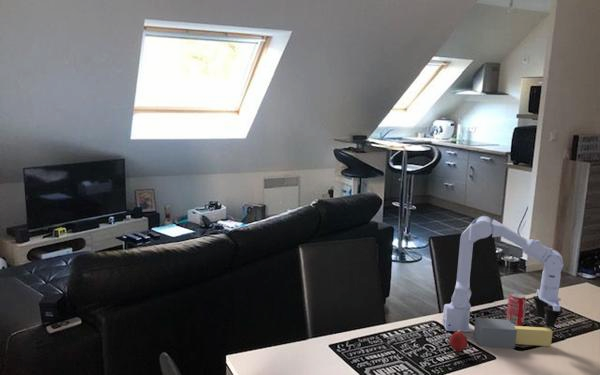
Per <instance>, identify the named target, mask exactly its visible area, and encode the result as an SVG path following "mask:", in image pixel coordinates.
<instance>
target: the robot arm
mask: <svg viewBox="0 0 600 375" xmlns="http://www.w3.org/2000/svg"><path fill="white" fill-rule="evenodd" d="M491 235H492V236H491ZM490 236H491V237H492V238H497V237H499V238H500V237H502V238H503V239H505V240H507V241H510V242H511V243H513V244H515V245H516V246H518V247H521V250H522V252H523V253H524V254H525V255H527V256H528V257H530V258H532V259H534V260H535V261H536V262H539V263H541V264H543V270H542V271H541V272H542V274H541V281H540V287H539V288H537V290H536V295H533V296H532V298H533V301H534V304H535V308H536V316H537V317H538V318H544V317H545V326H546V328H554V326H555V325H556V324H555V323H556V322H557V320H558V319H559V317H560V316H561V315H562V314H563V310H562V308H561V307H562V306H561V305H560V301H562V298H561V297H559V291H560V284H561V276H562V275H561V273H562V269H563V267H564V266H565V265H564V261H563V256H562V255H561V253H560V252H559V251H558V250H556V249H553V248H551V247H547V246H545V245H544V244H542V243H541V241H540V240H539V239H534V238H532V239H531V238H530V239H526V238H525V237H523V236H522V235H520V234H518V233H517V232H515V231H514V230H512V229H511V228H510V227H508V226H506V225H505V224H503V223H502V222H499V221H498V220H496V219H494V218H493V219H492V218H491V217H489V216H487V215H481V216H479V217H476V218H475V219H473V221H472V222H471V223H470V224H469V225H468V226H467V227H466V229H464V231H463V232H462V233H461V235H460V237H459V238H460V239H459V250H458V261H457V269H456V270H457V272H456V283H455V286H454V291H453V293H452V295H451V302H450V303H445V304H444V305H443V311H442V320H441V322H442V325H443V326H444V329H445V330H446V331H447V332H457V331H459V330H461V331H462V333H463V332H464V333H472V332H473V331H472V329H471V326H470V317H471V308H472V305H471V303H470V299H471V297H472V290H471V286H470V284H471V283H470V282H471V281H470V280H471V279H470V278H471V270H472V259H473V247H474V243H476V242H477V241H479V240H481V239H486V238H488V237H490Z"/></svg>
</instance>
